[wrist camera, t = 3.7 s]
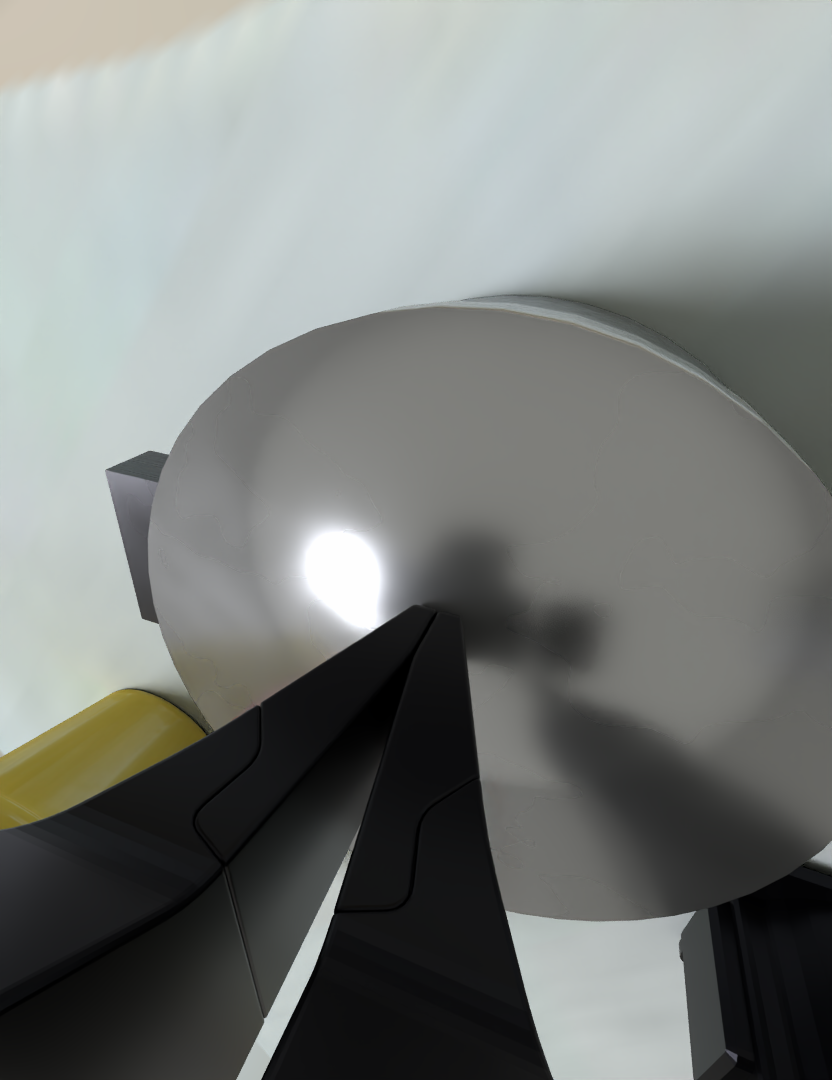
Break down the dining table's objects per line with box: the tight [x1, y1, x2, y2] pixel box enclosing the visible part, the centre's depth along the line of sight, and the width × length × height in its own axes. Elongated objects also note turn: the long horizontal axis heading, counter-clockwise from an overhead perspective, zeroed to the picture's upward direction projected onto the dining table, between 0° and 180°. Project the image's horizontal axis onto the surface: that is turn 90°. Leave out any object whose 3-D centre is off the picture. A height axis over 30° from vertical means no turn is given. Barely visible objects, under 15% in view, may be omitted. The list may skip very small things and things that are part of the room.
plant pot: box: [0, 689, 207, 830], centre depth 21 cm, size 10×10×10 cm
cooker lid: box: [148, 301, 832, 921], centre depth 10 cm, size 13×13×3 cm
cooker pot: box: [105, 295, 728, 624], centre depth 13 cm, size 18×13×4 cm
